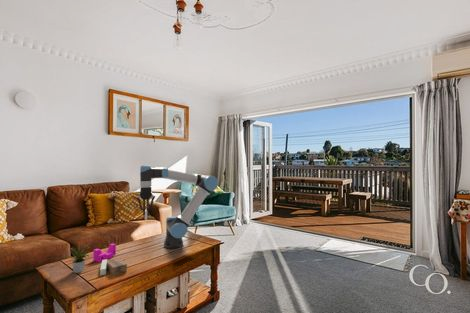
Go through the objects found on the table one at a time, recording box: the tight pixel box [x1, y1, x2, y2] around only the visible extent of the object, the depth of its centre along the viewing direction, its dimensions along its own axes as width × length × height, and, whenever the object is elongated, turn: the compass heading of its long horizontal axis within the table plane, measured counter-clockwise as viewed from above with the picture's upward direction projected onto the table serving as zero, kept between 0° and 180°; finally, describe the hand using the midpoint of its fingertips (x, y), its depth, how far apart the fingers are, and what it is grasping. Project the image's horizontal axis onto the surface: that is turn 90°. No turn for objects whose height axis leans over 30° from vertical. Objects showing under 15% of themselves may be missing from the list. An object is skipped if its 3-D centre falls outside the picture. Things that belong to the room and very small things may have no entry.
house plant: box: [67, 244, 90, 274], centre depth 155 cm, size 14×14×16 cm
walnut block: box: [106, 258, 128, 276], centre depth 157 cm, size 8×12×5 cm, turn 43°
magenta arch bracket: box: [92, 243, 117, 263], centre depth 178 cm, size 15×6×8 cm, turn 156°
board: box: [99, 259, 109, 276], centre depth 158 cm, size 3×16×4 cm, turn 23°
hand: (146, 219), depth 182 cm, fingers closed
